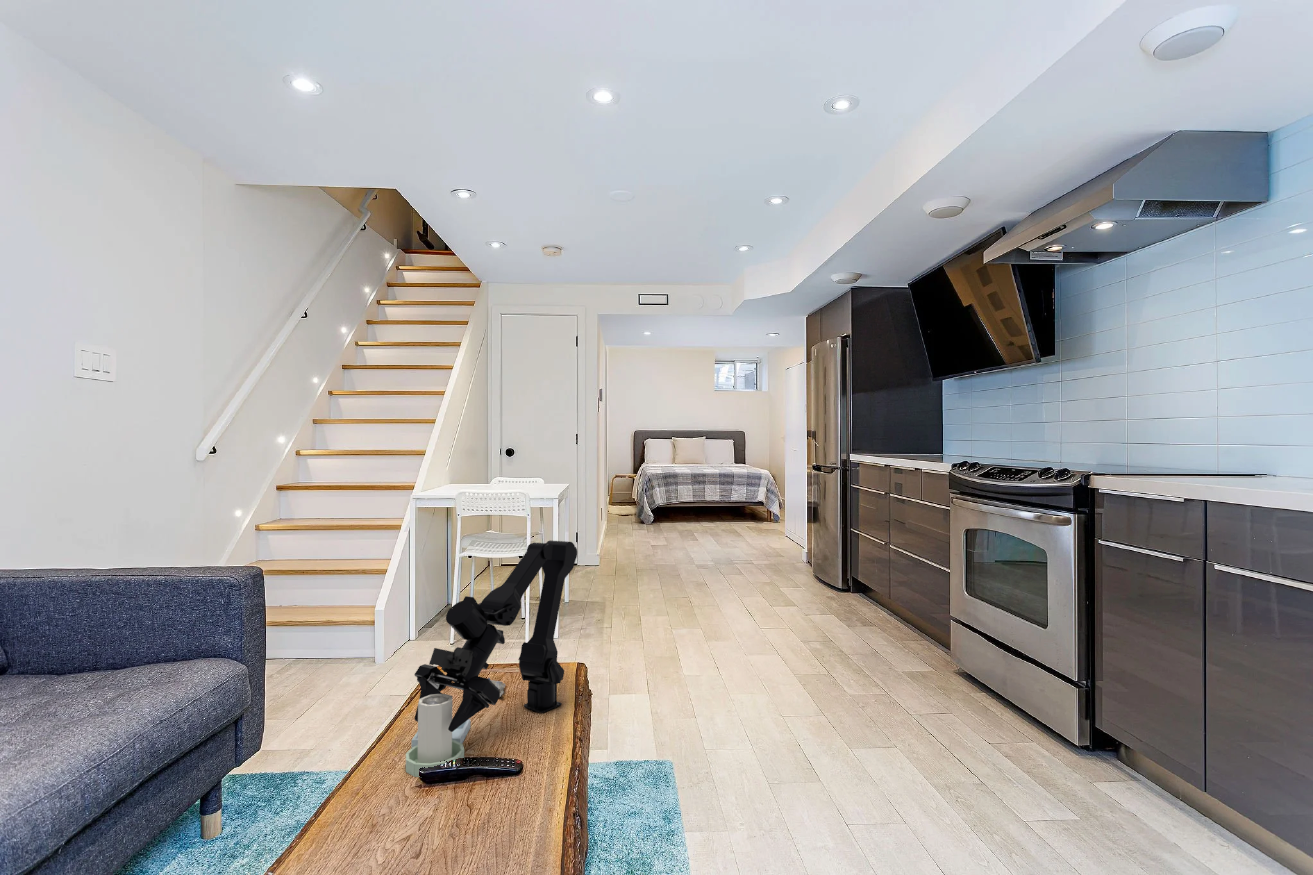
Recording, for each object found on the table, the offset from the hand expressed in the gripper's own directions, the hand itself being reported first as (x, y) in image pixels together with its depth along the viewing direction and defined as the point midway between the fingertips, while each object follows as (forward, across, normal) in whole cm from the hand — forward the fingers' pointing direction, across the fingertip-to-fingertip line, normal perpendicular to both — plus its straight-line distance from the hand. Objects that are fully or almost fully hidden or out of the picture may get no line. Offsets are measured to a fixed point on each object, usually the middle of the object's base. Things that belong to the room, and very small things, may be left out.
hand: (432, 725), depth 123 cm
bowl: (+5, 0, +6) cm, 8 cm away
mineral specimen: (-18, -20, +31) cm, 41 cm away
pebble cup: (+5, 0, +6) cm, 7 cm away
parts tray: (-1, -8, +12) cm, 15 cm away
